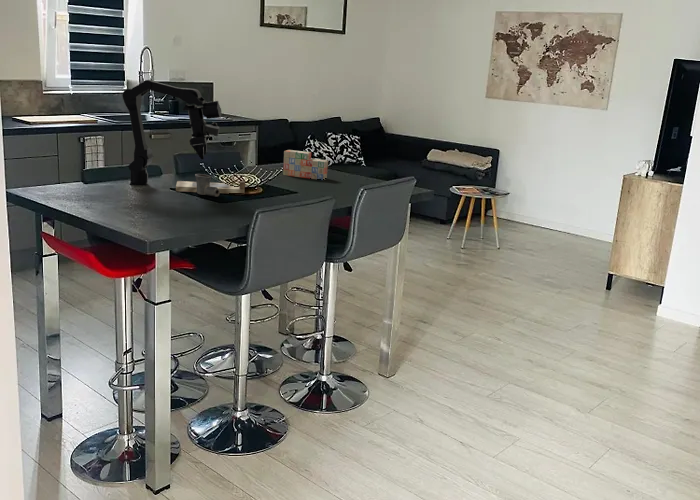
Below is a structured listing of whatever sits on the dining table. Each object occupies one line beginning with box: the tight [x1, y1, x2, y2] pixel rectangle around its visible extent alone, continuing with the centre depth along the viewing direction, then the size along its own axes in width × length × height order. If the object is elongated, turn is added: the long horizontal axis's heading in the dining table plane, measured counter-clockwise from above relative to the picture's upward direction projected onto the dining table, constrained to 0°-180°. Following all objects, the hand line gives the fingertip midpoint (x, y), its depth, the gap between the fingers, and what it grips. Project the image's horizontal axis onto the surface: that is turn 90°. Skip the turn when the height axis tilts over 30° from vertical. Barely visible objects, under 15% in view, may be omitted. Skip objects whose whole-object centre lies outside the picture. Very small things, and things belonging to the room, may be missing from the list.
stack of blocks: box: [282, 149, 329, 181], centre depth 344 cm, size 21×6×12 cm, turn 73°
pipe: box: [194, 173, 221, 198], centre depth 282 cm, size 6×13×8 cm, turn 53°
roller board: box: [175, 180, 246, 194], centre depth 294 cm, size 28×12×5 cm, turn 101°
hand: (203, 156), depth 291 cm, fingers open, 9 cm apart
